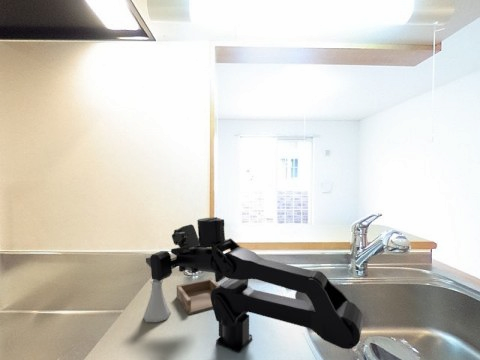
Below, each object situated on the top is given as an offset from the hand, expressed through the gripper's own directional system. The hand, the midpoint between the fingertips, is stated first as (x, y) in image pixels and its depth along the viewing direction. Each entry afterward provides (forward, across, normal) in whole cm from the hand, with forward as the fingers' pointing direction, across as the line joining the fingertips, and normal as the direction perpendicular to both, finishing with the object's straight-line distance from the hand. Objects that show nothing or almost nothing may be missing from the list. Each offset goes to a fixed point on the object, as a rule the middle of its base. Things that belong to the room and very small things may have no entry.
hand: (159, 255), depth 74 cm
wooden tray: (-4, -11, +17) cm, 21 cm away
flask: (+1, +2, +17) cm, 17 cm away
